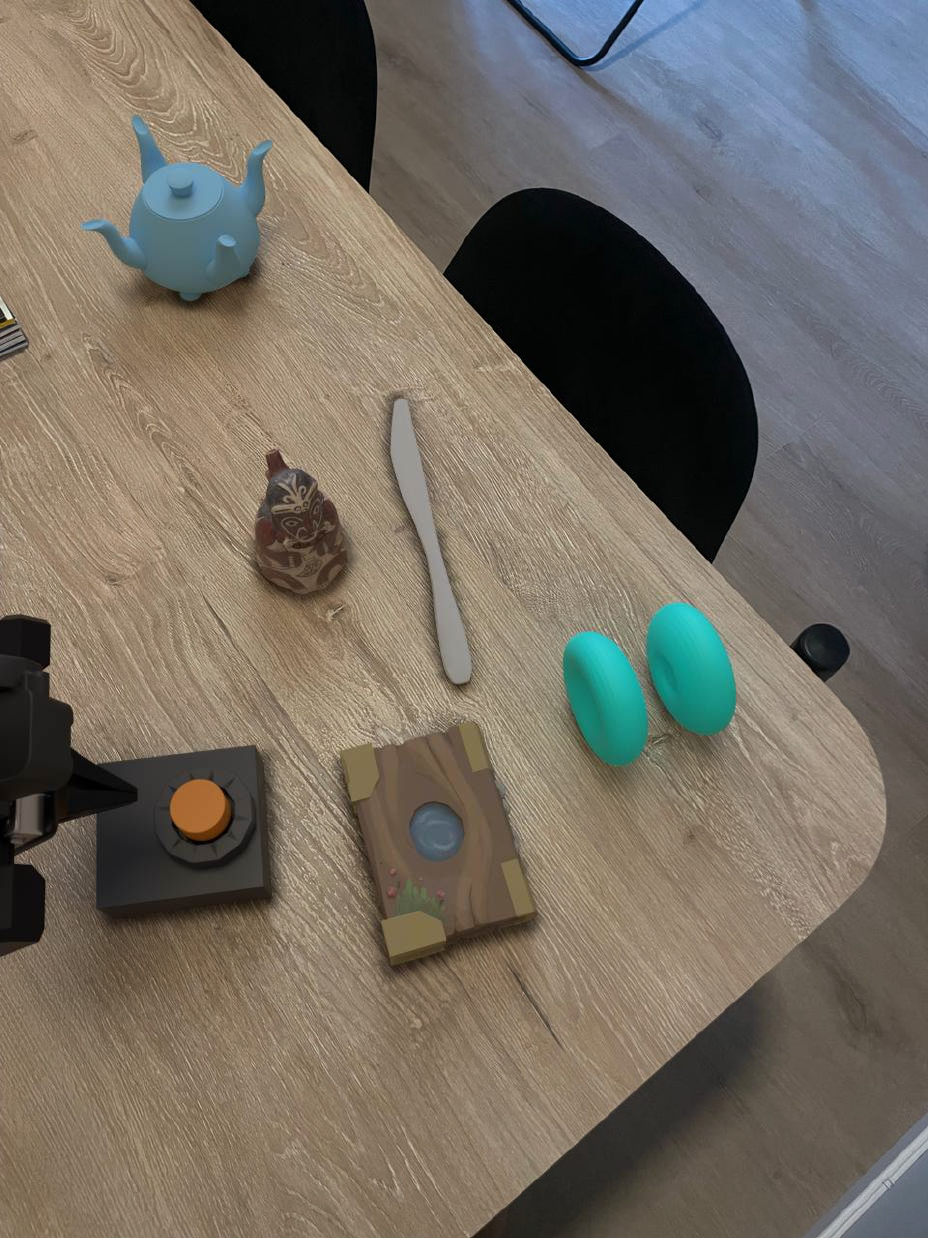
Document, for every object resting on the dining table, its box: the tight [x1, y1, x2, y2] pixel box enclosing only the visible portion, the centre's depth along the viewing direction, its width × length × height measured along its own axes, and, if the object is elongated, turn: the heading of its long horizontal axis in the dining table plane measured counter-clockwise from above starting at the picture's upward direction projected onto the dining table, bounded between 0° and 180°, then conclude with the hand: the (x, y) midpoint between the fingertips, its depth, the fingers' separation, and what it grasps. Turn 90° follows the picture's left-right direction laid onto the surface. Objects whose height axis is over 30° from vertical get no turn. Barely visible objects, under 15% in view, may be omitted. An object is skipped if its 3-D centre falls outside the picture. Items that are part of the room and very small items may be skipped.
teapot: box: [80, 114, 274, 302], centre depth 95 cm, size 13×13×10 cm
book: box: [339, 720, 539, 967], centre depth 75 cm, size 15×11×5 cm
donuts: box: [562, 602, 737, 767], centre depth 78 cm, size 10×10×10 cm
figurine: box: [253, 447, 348, 595], centre depth 82 cm, size 7×7×12 cm
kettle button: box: [170, 779, 231, 841], centre depth 71 cm, size 4×4×2 cm
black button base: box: [95, 744, 273, 920], centre depth 74 cm, size 11×10×6 cm
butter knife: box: [389, 398, 473, 685], centre depth 88 cm, size 1×27×3 cm
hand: (134, 796), depth 67 cm, fingers closed
